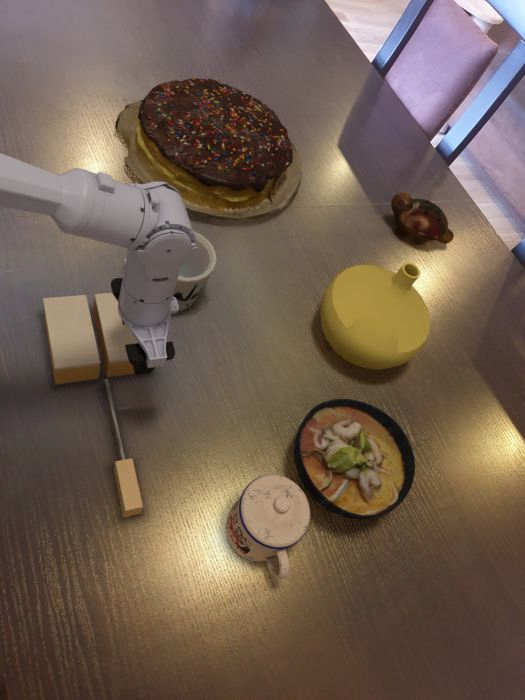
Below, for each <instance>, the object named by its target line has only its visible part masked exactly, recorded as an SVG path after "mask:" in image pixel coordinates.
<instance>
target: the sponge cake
mask: <svg viewBox="0 0 525 700" xmlns="http://www.w3.org/2000/svg"><path fill="white" fill-rule="evenodd" d="M93 297H94V299H93V311H92V314H93V317H94V322H95V326H96V331H97V336H98V340H99V341H98V342H99V344H100V351H101V355H102V359H103V364H104V369H105V373H106V378H113V377H119V376H127V375H133V374H134V375H135V373H134V369H133V365H132V364H131V363H130V362H129V359H128V356H127V352H126V348H125V345H126V344H135V343H138V341H137V340H136V339H135V337H134V336H133V334H132V333H131V332H130V330H129V329H128V327H127V326H126V325H123V323H122V319H121V317H120V316H119V313H118V301H117V299H116V298H115V297H114V295H113V293H112V292H106V293H95V294H94V296H93ZM42 308H43V321H44V326H45V332H46V339H47V345H48V350H49V356H50V362H51V370H52V375H53V381H54V384H55V385H62V384H70V383H75V382H82V381H84V382H85V381H91V380H99V378H100V368H101V360H100V359H101V358H100V354H99V350H98V345H97V339H96V335H95V331H94V325H93V322H92V317H91V311H90V307H89V302H88V297H87V294H79V295H67V296H54V297H43V298H42Z"/></svg>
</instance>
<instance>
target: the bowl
mask: <svg viewBox="0 0 525 700" xmlns="http://www.w3.org/2000/svg"><path fill="white" fill-rule="evenodd" d="M293 460H294V466H295V469H296V470H295V471H296V473H297V477H298V479H299V480H300V482H301V484H302V486H303V488H304V490H305V491H306V492H307V494H308V495H309V496H310V497H311V499H312V500H313V501H314V502H315V503H316V504H317V505H319V506H320V507H322V508H323V509H325V510H326V511H327V512H328V513H331V514H334V515H335V516H338V517H341V518H343V519H349V520H355V521H366V520H367V521H368V520H374V519H378V518H380V517H382V516H385V515H386V514H389V513H390V512H392V511H394V510H395V509H396V508H398V507H399V506H400V505H401V504H402V502H404V500H405V499H406V497H407V496H408V494H409V493H410V491H411V488H412V486H413V483H414V479H415V475H416V459H415V453H414V449H413V447H412V444H411V442H410V440H409V438H408V435H407V434H406V433H405V430H403V428H402V427H401V426H400V425H399V423H398V422H397V421H396V420H395V419H394V418H392V416H390V415H389V414H388V413H386V412H384V411H383V410H382V409H380V408H378V407H376V406H375V405H372V404H369V403H367V402H365V401H360V400H358V399H357V400H356V399H351V398H334V399H329V400H325V401H323V402H321V403H319V404H317V405H315V406H314V407H312V409H311V410H309V412H308V413H307V414H306V415H305V417H304V418H303V420H302V421H301V423H300V425H299V426H298V429H297V432H296V435H295V438H294V445H293Z"/></svg>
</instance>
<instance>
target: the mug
mask: <svg viewBox="0 0 525 700" xmlns="http://www.w3.org/2000/svg"><path fill="white" fill-rule="evenodd" d="M193 232H194V235H195V247H197V248H198V249H197V251H196V253H195V254H194V255H193V256H192V258H190V259H189V260H188V261H187V262H185V263H184V264H183V265H182V266H181V268H180V272H179V275H178V279H177V283H176V287H175V290H174V294H173V297H175V298H176V299H177V302H178V306H179V309H178V312H179V311H184V310H186V309H188V308H190V307H191V306H192V305H193V304H194V303H195V301H196V300H197V298H198V296H199V295H200V293H201V292H202V290H203V289H204V286H205V285H206V283H207V282H208V280H209V279H210V277H211V275H212V274H213V272H214V270H215V268H216V266H217V253H216V250H215V248H214V246H213V244H212V243H211V241H209V239H207V238H206V237H205V236H203V234H201V233H199V232H197V231H195V230H193Z"/></svg>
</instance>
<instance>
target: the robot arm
mask: <svg viewBox="0 0 525 700" xmlns="http://www.w3.org/2000/svg"><path fill="white" fill-rule="evenodd" d="M0 207H1V208H2V207H3V208H8V209H14V210H19V211H24V212H31V213H34V214H35V213H36V214H39V215H40V214H41V215H46V216H50V217H51V218H52V220H53V221H54V223H55V224H56V225H57V227H58V230H60V231H61V232H62V233H64V234H69V235H73V236H75V237H78V238H84V239H87V240H92V241H96V242H100V243H104V244H109V245H112V246H117V247H121V248H124V249H127V251H126V257H125V258H124V259H123V263H122V264H123V265H122V272H123V276H122V277H115V278H113V279H112V280H110V281H111V282H110V288H111V293H113V295H114V297H115V298H116V299H117V301H118V313H119V316H120V317H121V319H122V323H123V325H126V326H127V327H128V329H129V330H130V332H131V333H132V334H133V336H134V337H135V339H136V340H137V341H138V343H135V344H126V345H125V348H126V352H127V356H128V359H129V362H130V363H131V364H132V365H133V369H134V373H135V374H134V375H135V376H143V375H149V374H152V372H153V371H154V370H155V369H156V368H159V367H164V366H165V365H166V363H167V361H171V360H173V359H174V358H175V356H176V349H175V345H174V342H173V341H172V340H171V341H167V340H168V339H167V338H168V331H169V325H170V318H171V315H172V314H177V313H178V312H179V311H178V309H179V306H178V302H177V299H176V298H175V297H173V294H174V290H175V287H176V283H177V279H178V275H179V272H180V268H181V266H182V265H183V264H184V263H185V262H187V261H188V260H189V259H190V258H192V256H193V255H194V254H195V253H196V251H197V249H198V248H197V247H195V235H194V232H193V231H194V229H193V226H192V224H191V220H190V217H189V214H188V211H186V208H185V204H184V201H183V199H182V197H181V195H180V193H179V191H178V190H177V189H176V188H174V187H173V186H171V185H169V184H168V183H166V182H150V183H146V184H143V183H138V182H134V183H129V184H128V183H126V182H122V181H119V180H117V179H113V176H112V175H111V174H108V173H106V172H102V171H98V172H97V173H95V172H92V171H89V170H86V169H85V168H81V167H75V168H71V169H69V170H68V171H65V172H63V173H61V174H59V175H58V174H55V173H53V172H50V171H48V170H46V169H43V168H41V167H38V166H35V165H33V164H30V163H27V162H25V161H23V160H20V159H18V158H15V157H12V156H10V155H7V154H4V153H2V152H0Z"/></svg>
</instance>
